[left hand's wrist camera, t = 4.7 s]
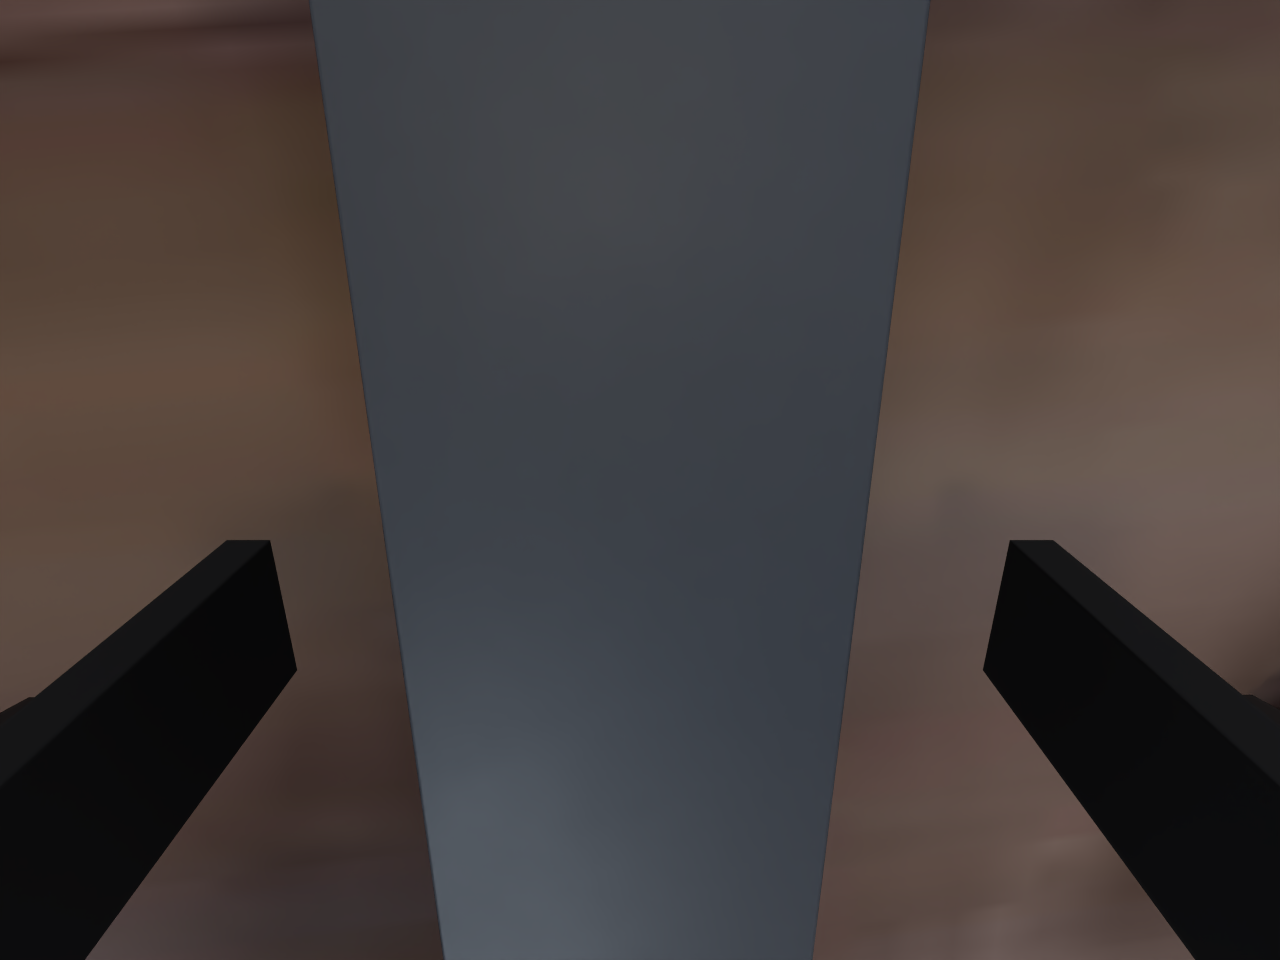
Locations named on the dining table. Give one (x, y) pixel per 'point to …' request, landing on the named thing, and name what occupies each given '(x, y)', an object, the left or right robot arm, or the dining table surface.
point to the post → (623, 439)
